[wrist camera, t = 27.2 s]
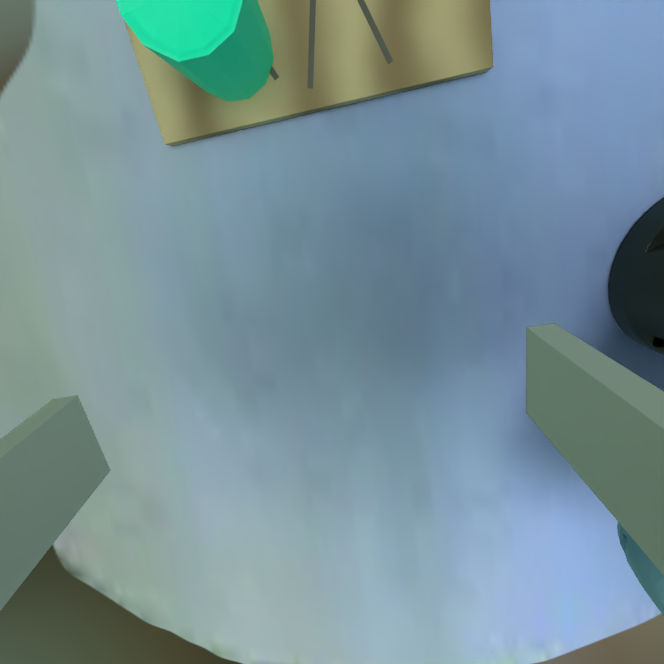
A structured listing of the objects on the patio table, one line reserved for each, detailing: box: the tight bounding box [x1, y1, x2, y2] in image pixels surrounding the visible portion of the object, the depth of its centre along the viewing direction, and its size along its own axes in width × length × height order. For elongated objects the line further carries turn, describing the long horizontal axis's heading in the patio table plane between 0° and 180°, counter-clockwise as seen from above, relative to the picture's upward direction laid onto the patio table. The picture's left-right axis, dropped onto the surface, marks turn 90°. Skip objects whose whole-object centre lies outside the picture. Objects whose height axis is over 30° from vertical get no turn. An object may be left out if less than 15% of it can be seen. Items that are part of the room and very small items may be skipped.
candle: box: [116, 0, 274, 102], centre depth 22 cm, size 6×6×12 cm
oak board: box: [124, 0, 493, 146], centre depth 28 cm, size 24×9×2 cm, turn 102°
